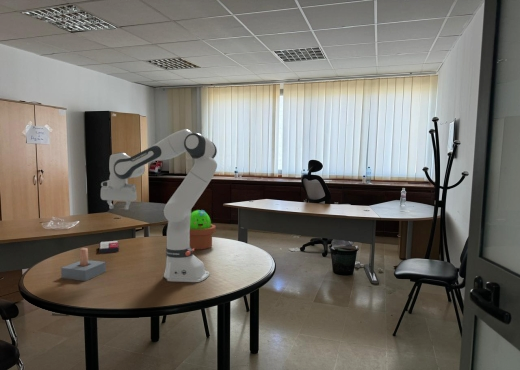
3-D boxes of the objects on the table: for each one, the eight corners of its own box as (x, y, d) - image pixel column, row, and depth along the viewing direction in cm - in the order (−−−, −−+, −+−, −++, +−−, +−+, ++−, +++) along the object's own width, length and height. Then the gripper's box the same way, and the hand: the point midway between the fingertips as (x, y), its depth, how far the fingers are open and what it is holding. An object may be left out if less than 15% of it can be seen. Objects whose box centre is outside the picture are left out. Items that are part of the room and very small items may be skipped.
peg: (89, 271, 171) (89, 248, 170) (84, 274, 168) (84, 250, 167) (84, 271, 172) (83, 247, 171) (78, 273, 169) (78, 249, 168)
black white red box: (99, 248, 207) (99, 241, 220) (99, 255, 207) (99, 247, 221) (118, 246, 211) (118, 239, 225) (118, 253, 212) (118, 246, 225)
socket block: (105, 271, 175) (105, 262, 174) (85, 280, 161) (85, 270, 161) (83, 268, 178) (83, 259, 178) (61, 277, 165) (61, 267, 165)
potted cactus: (180, 243, 234) (180, 207, 232) (212, 241, 240) (212, 206, 238) (183, 251, 213) (183, 212, 211) (218, 249, 219) (218, 211, 217)
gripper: (139, 183, 181) (139, 209, 182) (106, 182, 186) (107, 207, 187) (131, 184, 175) (132, 210, 176) (98, 183, 180) (99, 208, 181)
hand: (119, 209), depth 182 cm, fingers open, 8 cm apart
